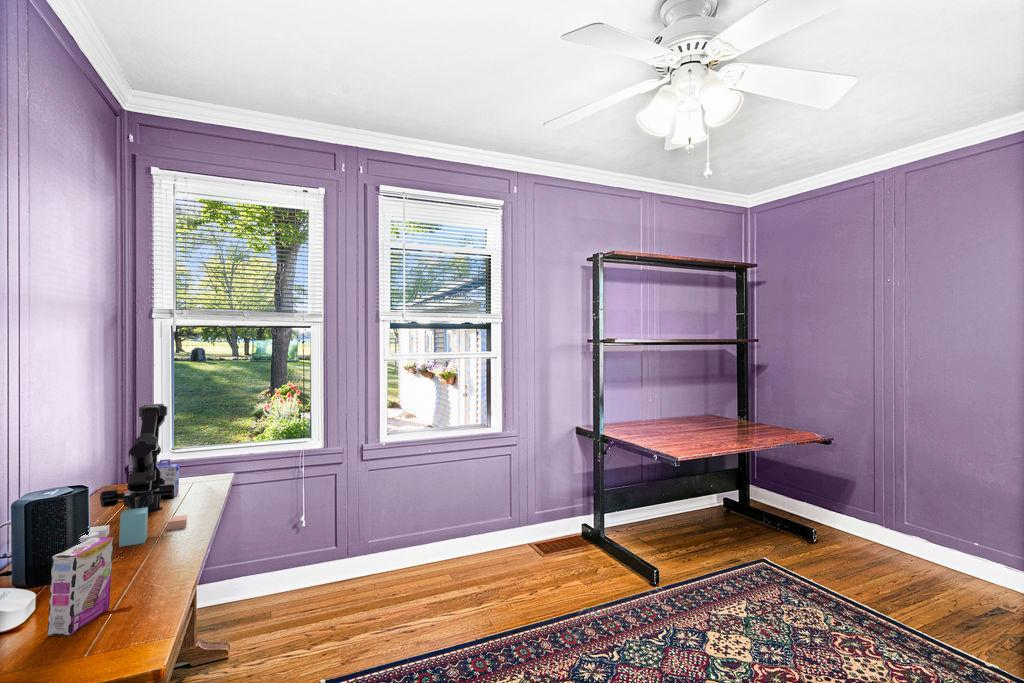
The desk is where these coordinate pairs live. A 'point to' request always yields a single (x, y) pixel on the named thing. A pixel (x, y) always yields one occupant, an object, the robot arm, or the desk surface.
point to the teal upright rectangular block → (133, 526)
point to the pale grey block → (101, 530)
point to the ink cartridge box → (170, 474)
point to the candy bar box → (79, 585)
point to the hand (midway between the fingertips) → (135, 519)
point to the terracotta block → (177, 522)
